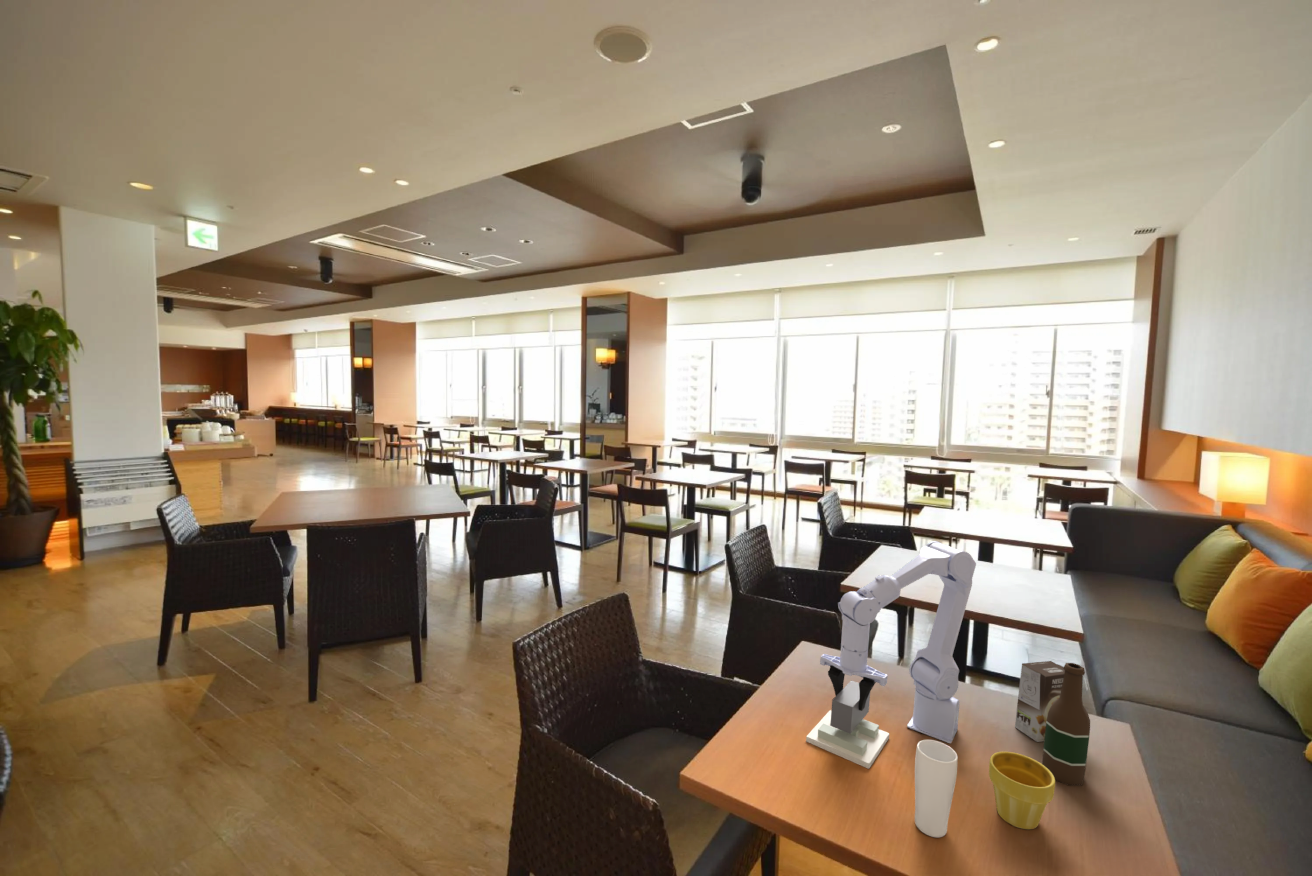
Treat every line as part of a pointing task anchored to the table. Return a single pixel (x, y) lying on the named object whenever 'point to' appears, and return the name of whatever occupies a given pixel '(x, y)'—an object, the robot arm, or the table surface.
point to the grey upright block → (848, 708)
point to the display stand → (850, 740)
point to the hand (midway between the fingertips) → (850, 704)
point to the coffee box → (1037, 696)
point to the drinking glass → (934, 786)
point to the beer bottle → (1068, 730)
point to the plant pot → (1020, 788)
